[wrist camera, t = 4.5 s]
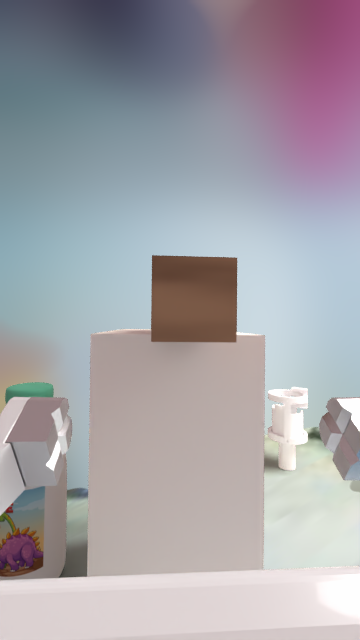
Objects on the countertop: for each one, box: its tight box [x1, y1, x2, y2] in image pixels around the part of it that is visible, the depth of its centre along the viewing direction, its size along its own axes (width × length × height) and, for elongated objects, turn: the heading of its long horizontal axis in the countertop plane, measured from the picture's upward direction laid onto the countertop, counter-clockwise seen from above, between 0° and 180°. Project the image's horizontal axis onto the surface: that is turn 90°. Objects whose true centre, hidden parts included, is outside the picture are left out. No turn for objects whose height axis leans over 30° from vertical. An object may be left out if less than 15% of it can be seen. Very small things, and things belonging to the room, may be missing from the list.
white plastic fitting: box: [268, 387, 308, 471], centre depth 57 cm, size 7×7×15 cm
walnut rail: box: [151, 256, 237, 342], centre depth 23 cm, size 22×4×4 cm, turn 4°
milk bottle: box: [0, 382, 67, 580], centre depth 32 cm, size 8×8×20 cm
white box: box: [87, 329, 265, 577], centre depth 30 cm, size 18×12×26 cm, turn 4°
